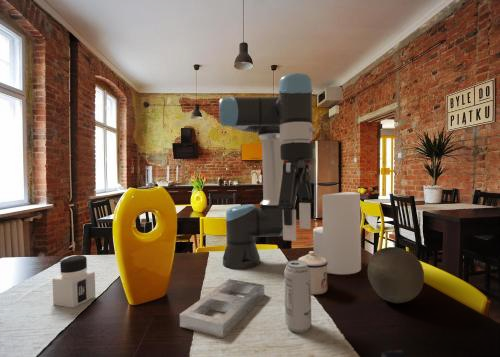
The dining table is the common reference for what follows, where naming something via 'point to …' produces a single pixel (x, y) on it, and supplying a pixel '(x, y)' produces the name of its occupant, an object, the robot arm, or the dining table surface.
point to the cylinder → (340, 233)
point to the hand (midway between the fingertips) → (298, 233)
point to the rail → (222, 308)
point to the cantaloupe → (395, 274)
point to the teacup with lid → (316, 272)
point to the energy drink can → (297, 296)
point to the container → (73, 282)
